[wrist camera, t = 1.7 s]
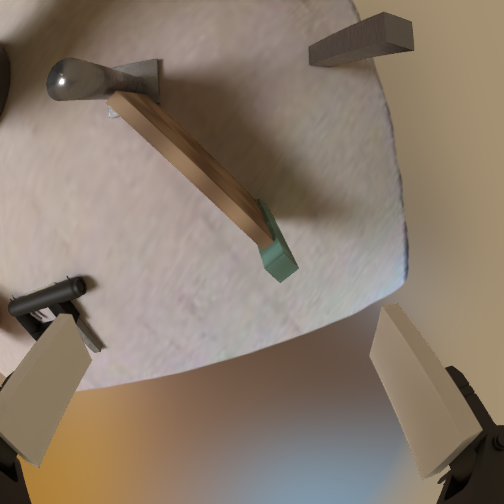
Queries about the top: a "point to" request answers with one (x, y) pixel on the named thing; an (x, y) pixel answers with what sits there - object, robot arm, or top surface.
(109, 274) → the top surface
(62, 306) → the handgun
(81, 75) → the hinge post
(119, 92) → the wooden board
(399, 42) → the post
